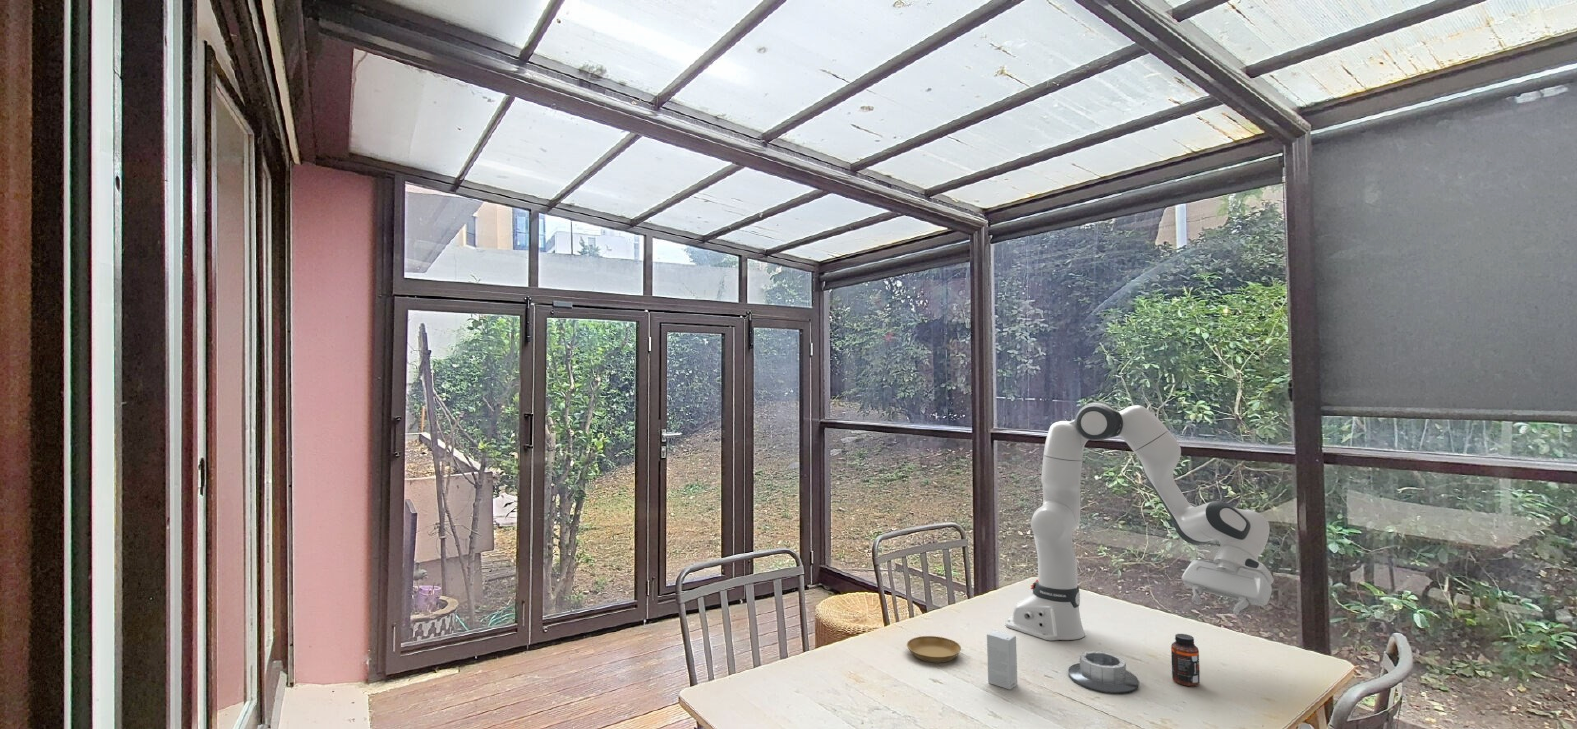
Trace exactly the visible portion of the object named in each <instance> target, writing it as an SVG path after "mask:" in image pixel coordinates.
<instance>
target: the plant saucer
mask: <svg viewBox="0 0 1577 729" xmlns="http://www.w3.org/2000/svg"><path fill="white" fill-rule="evenodd" d="M906 647H907V648H908V650H909V651H910V653H911V654H912V655H914V656H915V657H916V658H917V659H919V660H921V661H924V662H928V663H936V664H937V663H946V662H950V661H952V660H953V659H954V658H956V657H957V656H958V655H959V654H960V652H961V651H962V647H961V645H960V644H959V643H958V642H956V641H955V640H953V639H950V638H948V637H943V636H934V635H923V636H917V637H914V638H911V639H909V640H908V641H907V643H906Z"/></svg>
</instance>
